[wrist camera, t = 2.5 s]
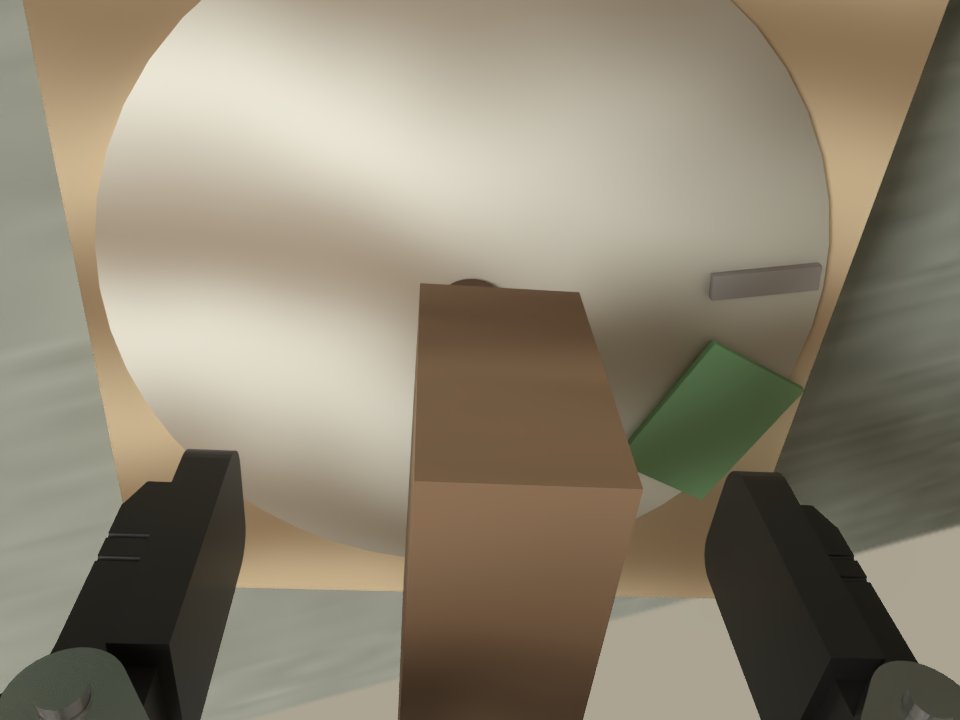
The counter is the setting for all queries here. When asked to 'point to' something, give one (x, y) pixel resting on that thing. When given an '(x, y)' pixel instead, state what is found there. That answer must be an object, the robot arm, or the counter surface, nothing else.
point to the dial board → (460, 231)
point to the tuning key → (510, 507)
